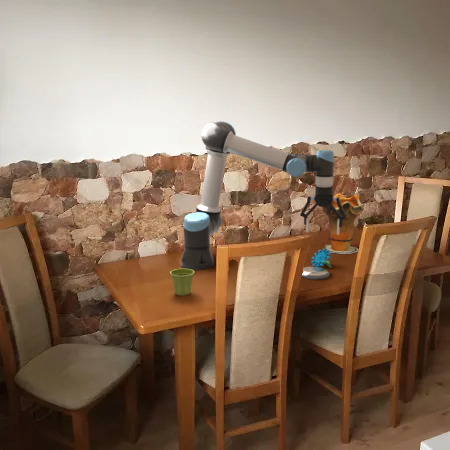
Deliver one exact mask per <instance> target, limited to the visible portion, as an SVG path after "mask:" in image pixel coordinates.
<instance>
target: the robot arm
mask: <svg viewBox="0 0 450 450" xmlns="http://www.w3.org/2000/svg"><path fill="white" fill-rule="evenodd" d="M201 141H202V143H203V144H204V145H205V148H204V149H205V152H206V153H207V159H206V165H205V172H204V177H203V185H202V191H201V196H200V203H199V204H197V206H196V209H195V212H192V213H188V214H187V215H185V216H184V219H183V223H182V224H183V225H182V226H183V242H184V243H183V244H184V247H183V248H184V249H183V253H182V256H181V259H180V266H181V268H183V269H191V270H193V271H195V270H196V271H197V270H198V271H199V270H200V271H201V270H206V269H210V268H212V267H213V266H214V265H215V259H214V256H213V253H212V250H211V236H213V235H214V234H215V233H217V232H218V231H219V229H220V227H221V226H222V216H221V213H222V209H221V208H220V205H219V204H220V198H221V192H222V186H223V179H224V174H225V168H226V162H227V157H228V156H229V155H230V154H233V155H237V156H239V157H242V158H244V159H247V160H249V161H250V160H251V161H253V162H256V163H258V164H262V165H265V166H268V167H270V168H273V169H277V170H279V171H282V172H285V173H287V174H289V176H291V177H294V178H296V177H297V178H298V177H302V176H303V175H304V174H305V173H315V191H314V196H312V195H308V196H307V201H306V203H305V205H304V207H303V208H302V211H301V212H300V217H301V218H303V225H304V226H305V227H306V229H305V233H306V234H307V233H309V231H310V217H309V215H310V214H311V213H313V211H314V210H315V209H316V208H317V207H320V208H322V207H328V206H329V208H330V209H331V210H332V211H333V212H334V213H335V215H336V216H337V217H338V218H339V219H338V220H337V235H339V229H340V227H342V220H343V219H346V217H347V216H346V213H345V211H344V209H343V207H342V205H341V203H340V197H337V198H334V196H333V195H334V194H333V192H334V187H333V185H334V168H335V166H334V165H335V153H334V150H330V149H329V150H328V149H318V150H317V151H316V153H315V154H298V153H296V154H289V153H287V152H285V151H284V152H283V151H281V150H278V149H276V148H272V147H269V146H268V145H267V146H266V145H264V144H261V143H258V142H255V141H252V140H250V139H246V138H245V137H244V138H243V137H242V136H239V135H237V134H236V130H235V127H233V125H232V124H231V123H229V122H227V121H222V120H221V121H216V122H209V123H208V124H206V125H205V126H204V128H203V129H202V131H201ZM333 200H334V201H335V202H336V203H337V205H338V207H339V210H340V212H341V214H342V216H341V215H340V213H339V212H338V211H337V210H336V208H335V207H334V206H333V204H332V201H333ZM313 201H314V202H315V204H314V205H313V206H312V207H311V208H310V209H309V210H308V211H307V209H308V207H309V206H310V204H311V202H313ZM306 211H307V212H306Z"/></svg>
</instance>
